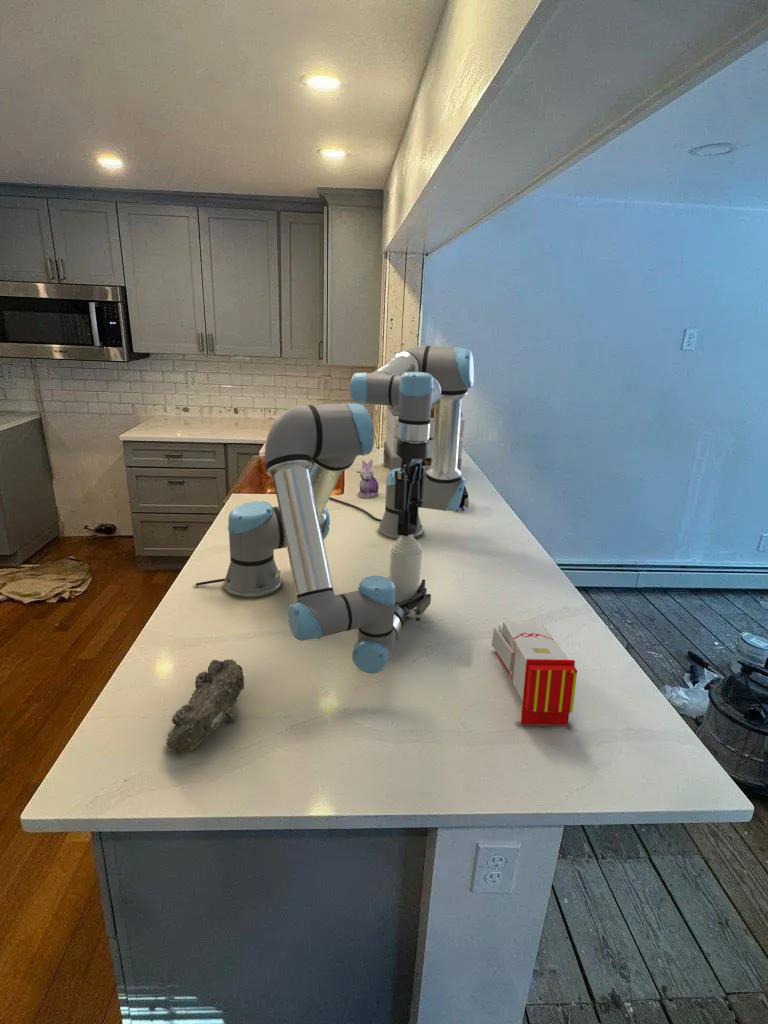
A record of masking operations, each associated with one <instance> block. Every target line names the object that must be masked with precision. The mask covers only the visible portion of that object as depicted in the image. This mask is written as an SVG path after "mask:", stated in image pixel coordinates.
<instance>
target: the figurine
mask: <svg viewBox="0 0 768 1024" xmlns="http://www.w3.org/2000/svg"><path fill="white" fill-rule="evenodd" d="M373 463H374V461H373V459H370V460H369V461H368V462H366V461H365V460H362V461H361V471H360V473H359V475H360V478H361V480H360V482H359V492H358V495H359V497H360V498H365V499H369V498H374V497H376V496H378V494H379V489H380V488H379V487H380V486H379V482H378V480H377V479H376V478H375V477H374V472H373V468H372V466H373Z"/></svg>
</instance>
